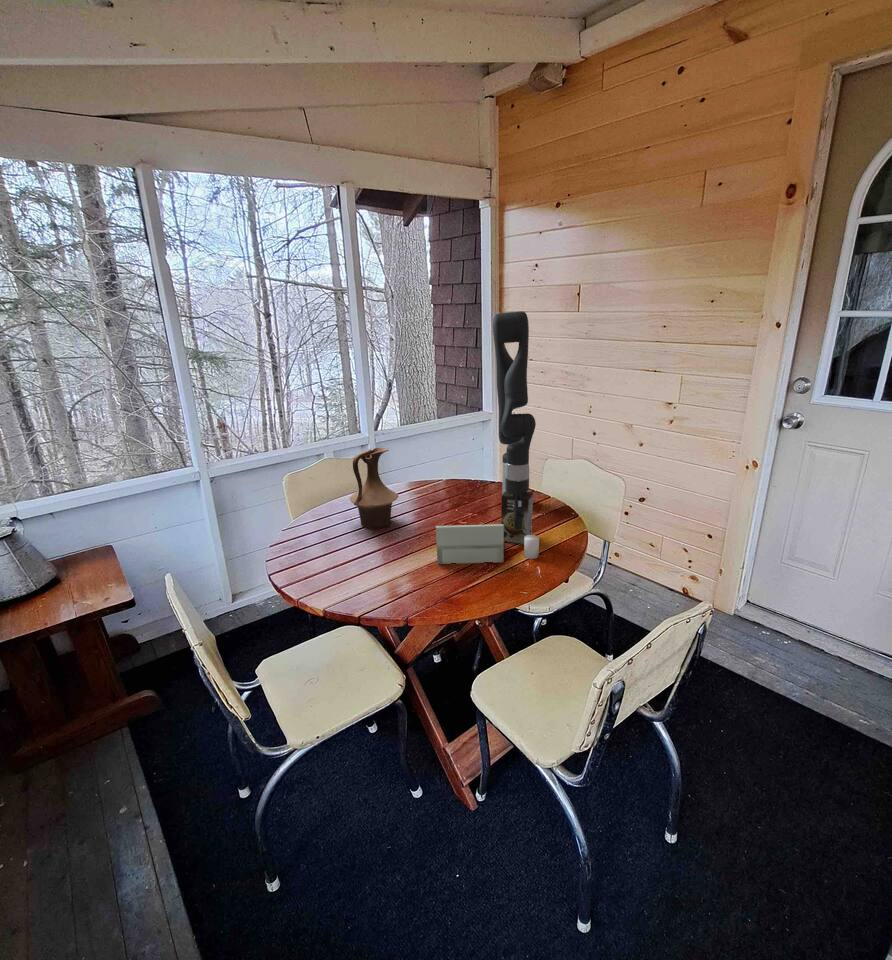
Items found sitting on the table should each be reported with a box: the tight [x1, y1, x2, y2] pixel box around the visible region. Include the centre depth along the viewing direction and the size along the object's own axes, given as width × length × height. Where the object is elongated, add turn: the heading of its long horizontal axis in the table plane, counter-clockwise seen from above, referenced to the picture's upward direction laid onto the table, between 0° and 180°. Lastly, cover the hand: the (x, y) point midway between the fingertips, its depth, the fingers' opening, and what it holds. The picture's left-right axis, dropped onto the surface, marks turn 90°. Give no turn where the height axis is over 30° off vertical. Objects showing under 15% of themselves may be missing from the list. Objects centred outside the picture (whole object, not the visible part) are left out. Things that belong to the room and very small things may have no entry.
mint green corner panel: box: [435, 523, 505, 565], centre depth 160 cm, size 14×20×12 cm
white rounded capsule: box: [523, 534, 540, 560], centre depth 158 cm, size 4×4×6 cm
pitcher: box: [349, 447, 399, 530], centre depth 182 cm, size 18×17×28 cm
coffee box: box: [500, 491, 534, 545], centre depth 167 cm, size 9×6×16 cm
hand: (516, 523), depth 168 cm, fingers closed on coffee box, 8 cm apart
